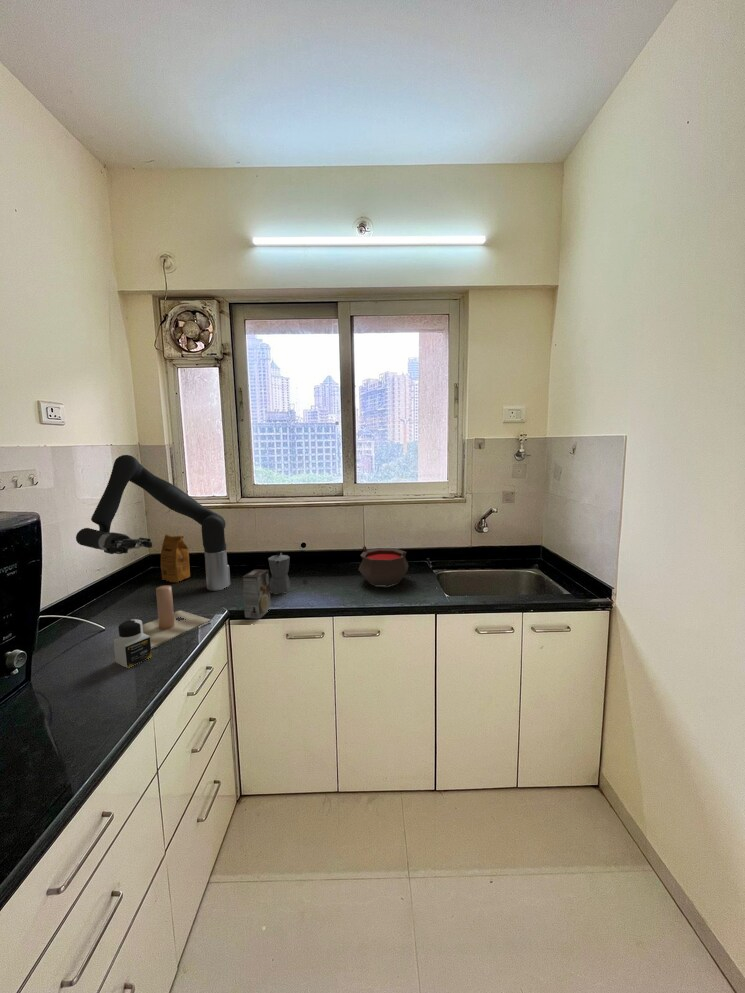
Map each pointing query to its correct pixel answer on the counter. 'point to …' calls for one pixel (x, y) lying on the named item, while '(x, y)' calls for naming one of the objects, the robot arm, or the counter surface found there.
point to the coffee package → (174, 559)
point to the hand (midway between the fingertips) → (139, 547)
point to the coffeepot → (279, 573)
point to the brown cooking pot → (383, 565)
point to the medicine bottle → (131, 644)
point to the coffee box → (256, 593)
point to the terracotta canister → (165, 607)
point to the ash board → (179, 627)
